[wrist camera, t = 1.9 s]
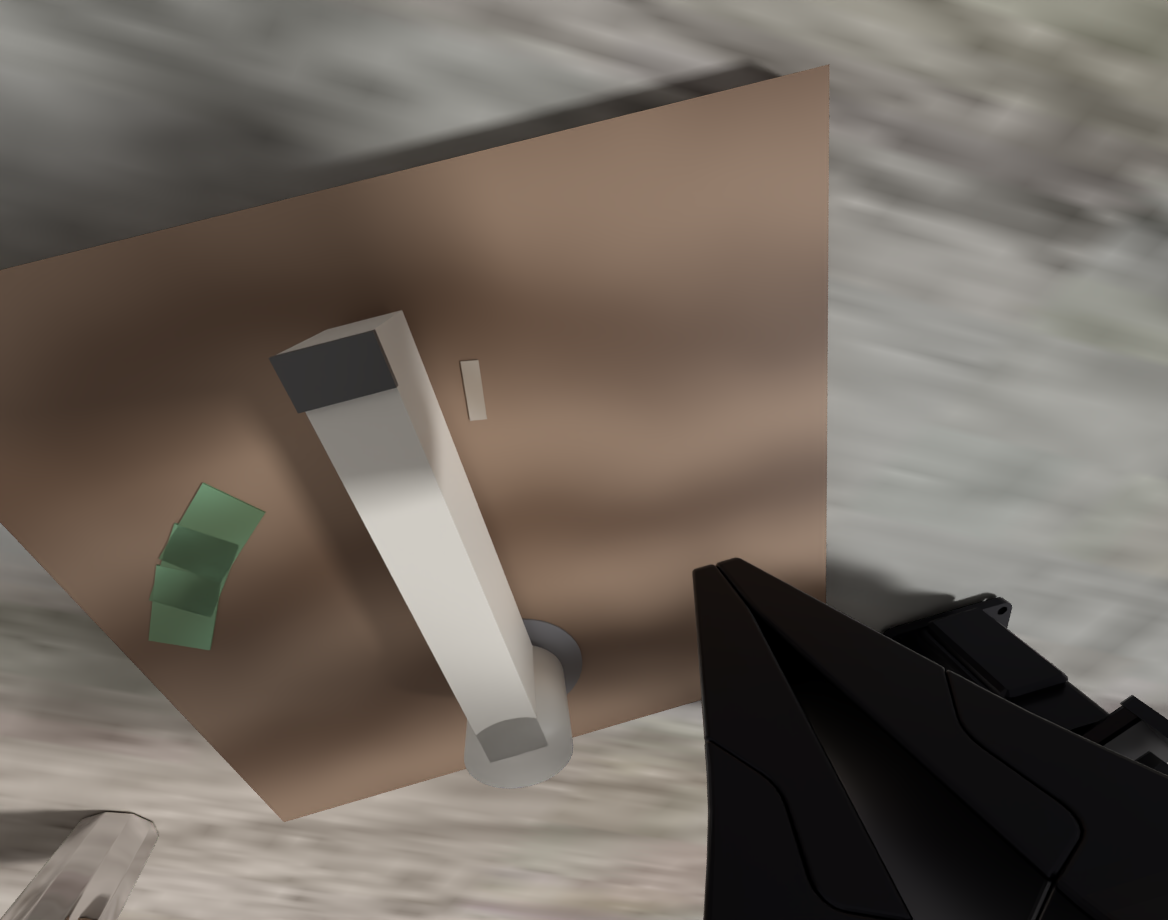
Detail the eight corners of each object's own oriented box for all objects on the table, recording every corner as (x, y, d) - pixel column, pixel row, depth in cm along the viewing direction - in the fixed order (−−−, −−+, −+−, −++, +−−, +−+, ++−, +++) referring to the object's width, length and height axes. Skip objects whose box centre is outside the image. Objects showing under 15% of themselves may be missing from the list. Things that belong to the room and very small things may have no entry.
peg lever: (572, 696, 19) (584, 776, 16) (487, 721, 19) (483, 806, 16) (432, 302, 12) (409, 321, 9) (295, 337, 12) (230, 367, 9)
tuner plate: (806, 638, 23) (826, 665, 21) (297, 786, 22) (282, 824, 21) (796, 82, 13) (831, 62, 12) (-117, 309, 12) (-199, 318, 11)
